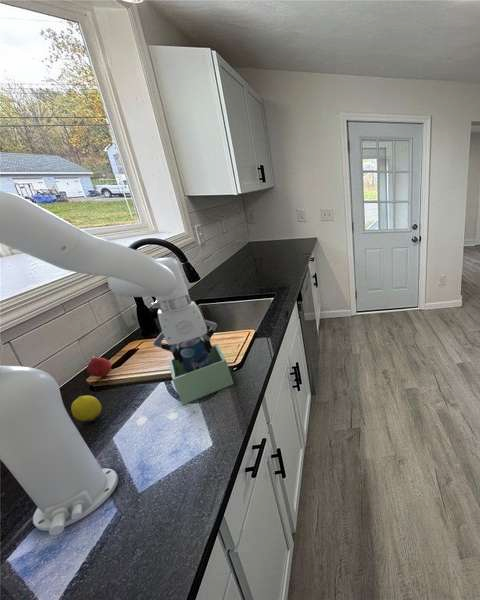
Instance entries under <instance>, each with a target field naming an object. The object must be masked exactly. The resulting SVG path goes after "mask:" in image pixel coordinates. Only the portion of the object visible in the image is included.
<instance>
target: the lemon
mask: <svg viewBox="0 0 480 600" xmlns="http://www.w3.org/2000/svg"><path fill="white" fill-rule="evenodd" d="M70 410H71V414H72V416H73V417H74V418H75V420H76V419H77V420H78V421H80V422H81V421H82V422H89V421H94V420H96V418H98V416H99V415H100V414H101V412H102V403H101V402H100V401H99V400H98V398H97V397H95V396H93V395H79V396H78V397H77V398H76V399H74V401H73V402H72V403H71V407H70Z"/></svg>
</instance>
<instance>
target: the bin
mask: <svg viewBox="0 0 480 600" xmlns="http://www.w3.org/2000/svg"><path fill="white" fill-rule="evenodd" d="M211 346H212V348H211V349H210V351H211V353H208V354H209V356H210V359H211V362H212V364H211V365H208V366H205V367H203V368H200V369H197V370H194V371H192V372H189V373H186V370H185V368H184V365H183V363H182V362H181V363H179V361H178V360H176V361H175V359H174V357H172V358H169V359H167V360H168V366H169V369H170V374H171V375H170V376H171V379H172V382H173V384H174V387H175V390H176V392H177V394H178V396H179V399H180V401H181V403H182V405H183V406H184V405H187V404H188V403H191V402H193V401H196V400H198V399H201V398H203V397H206V396H208V395H211V394H213V393H215V392H218V391H220V390H223V389H226V388H227V387H230V386H233V385H234V384H235V383H234V381H233V378H232V375H231V371H230V368H229V365H228V362H227V359H226V357H225V356H224V354H223V351H222V350H221V349H220V346H219V344H218V343H215V344H211Z"/></svg>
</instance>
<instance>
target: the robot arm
mask: <svg viewBox="0 0 480 600" xmlns="http://www.w3.org/2000/svg"><path fill="white" fill-rule="evenodd" d="M0 244H2V245H4V246H6V247H9V248H12V249H14V250H15V251H18V252H21V253H24V254H26V255H28V256H31V257H33V258H35V259H37V260H40V261H42V262H45V263H47V264H49V265H52V266H55V267H57V268H59V269H62V270H65V271H70V272H73V273H79V274H85V275H93V276H101V277H108V279H107V285H108V288H109V289H110V291H111V292H112V293H114V294H115V295H117V296H120V297H123V298H124V297H126V298H143V297H146V298H147V297H149V298H151V297H154V298H155V302H152V303H151V304H150V306H151V308H152V309H158V310H157V318H158V321H159V325H160V328H161V332H160V333H159V334H158V335H157V337H156V338H155V339H154V340H153V343H152V344H153V346H155V347H157V348H160V349H162V350H165V351H168V352H170V353H171V354H172V356H173V358H174V359H175V361H176V360H178V361H179V363H181V362H182V360H181V357H180V355H179V352H178V349H177V348H176V345H177V344H178V343H181V342H184V341H188V340H191V339H194V338H197V337H200V336H201V337H203V338H204V339H203V340H204V342H205V345H206V348H207V351H208V353H211V351H210V349H211V348H212V343H211V338H212V337H213V336H214V333H215V331H216V329H217V328H218V324H217V323H216V322H214V321H210V320H208V319H204V317H203V315H202V312H201V310H200V308H199V307H198V305H197V304H196V302H195V301H194V300H192V299H191V297H190V293H189V290H188V287H187V284H186V282H185V278H184V276H183V273H182V270H181V268H180V265H179V262H178V261H177V260H176V258H174V257H160V258H154V257H153V256H151V255H148V254H146V253H144V252H142V251H139V250H137V249H134V248H130V247H129V246H125V245H121V244H119V243H115V242H114V241H111V240H107V239H106V238H101V237H98V236H95V235H92V234H90V233H89V232H86V231H85V230H83V229H82V228H79V227H77V226H75V225H73V224H71V223H70V222H68V221H66V220H64V219H63V218H61V217H59V216H57V215H55V213H52V212H50V211H48V210H46V209H45V208H43V207H41V206H39V205H37V204H36V203H34V202H32V201H30V200H28V199H26V198H24V197H22V196H20V195H18V194H15V193H12V192H9V191H6V190H0ZM207 327H209V329H208V328H207ZM164 339H165V341H166V343H165V342H163V340H164ZM3 353H4V343H3V341H2V339H1V338H0V359H1V358H2V356H3V355H4V354H3ZM63 401H64V400H63V398H62V394H61V390H60V386H59V384H58V382H57V381H56V379H55V378H54V377H53V376H52V375H51V374H49V373H48V372H46V371H45V370H41V369H38V368H35V367H31V366H22V365H0V461H1V462H2V463H3V464H4V466H5V467H6V468H7V469H8V471H9V472H10V473H11V474H12V475H13V477H14V479H15V480H16V481H17V482H18V483H19V485H20V486H21V488H22V489H23V490H24V491H25V493H26V494H27V495H28V496H29V498H30V499H31V500H32V501H33V503H34V505H35V506H36V507H37V508H36V510H35V512H34V513H33V516H32V523H33V525H34V526H35V528H37V529H38V530H39V531H43V532H44V531H45V532H48V535H49V536H58V535H60V534H61V533H63V532H64V530H65V527H68V526H71V525H72V524H75V523H77V522H78V521H81V520H82V519H84V518H85V517H87V516H89V515H90V514H91V513H93V512H94V511H96V510H97V509H98V508H99V507H100V506H101V505H103V504H104V503H105V502H106V501H107V499H109V498H110V497H111V495H112V494H113V492H114V491H115V489H116V488H117V487H118V483H119V476H118V474H117V472H116V470H115V469H111V468H107V467H106V468H102V467H101V466H100V464H99V462H98V461H97V459H96V458H95V456H94V454H93V453H92V451H91V449H90V448H89V446H88V444H87V443H86V441H85V440H84V437H82V434H81V432H79V429H78V428H77V426H76V425H75V423H74V421H73V420H72V418H71V417H70V415H69V413H68V411H67V409H66V407H65V404H64V402H63Z"/></svg>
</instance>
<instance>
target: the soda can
mask: <svg viewBox="0 0 480 600" xmlns="http://www.w3.org/2000/svg"><path fill="white" fill-rule="evenodd" d="M178 352H179V355H180V357H181V360H182V363H183V365H184V368H185V370H186V373H189V372H192V371H194V370H197V369H200V368H203V367H205V366H208V365H211V364H212V362H211V359H210V356H209V354H208V351H207V348H206V345H205V342H204V341H202V340H201V338H200V337H197V338H194V339H191V340H188V341H184V342H181V343H179V348H178Z"/></svg>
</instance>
